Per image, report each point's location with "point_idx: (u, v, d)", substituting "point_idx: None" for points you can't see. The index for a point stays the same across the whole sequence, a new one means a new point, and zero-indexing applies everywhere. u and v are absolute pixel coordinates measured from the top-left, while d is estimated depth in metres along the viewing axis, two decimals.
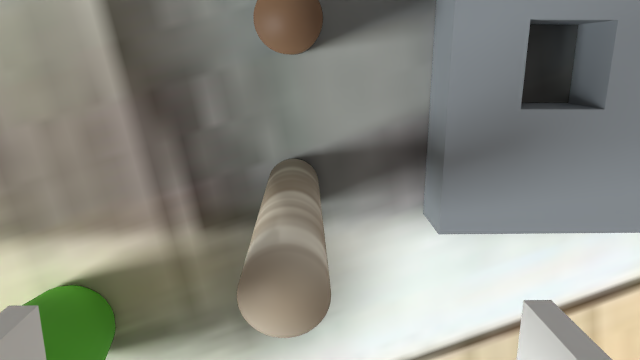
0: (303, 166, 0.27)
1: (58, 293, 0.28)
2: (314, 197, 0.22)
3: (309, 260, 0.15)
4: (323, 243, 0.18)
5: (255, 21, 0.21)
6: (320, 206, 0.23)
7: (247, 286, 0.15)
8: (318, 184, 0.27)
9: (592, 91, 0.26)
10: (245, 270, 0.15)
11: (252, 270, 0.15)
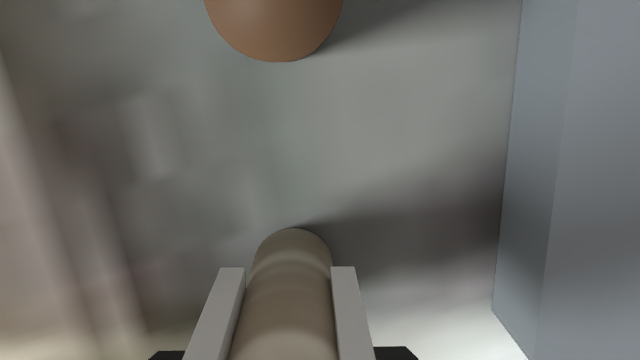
0: (309, 246, 0.16)
1: None
2: (331, 334, 0.12)
3: None
4: None
5: None
6: None
7: None
8: None
9: None
10: None
11: None
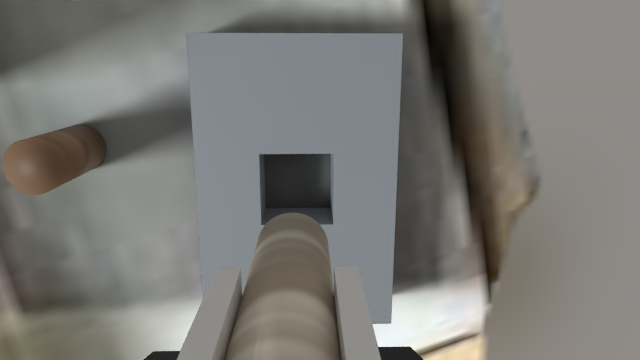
0: (307, 227, 0.18)
1: None
2: (325, 296, 0.14)
3: None
4: None
5: (4, 170, 0.25)
6: (334, 309, 0.14)
7: None
8: None
9: (332, 205, 0.30)
10: None
11: None
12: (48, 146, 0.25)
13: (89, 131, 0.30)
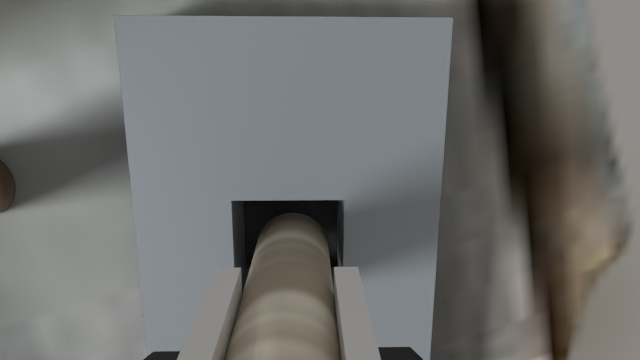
0: (307, 228, 0.18)
1: None
2: (325, 297, 0.14)
3: None
4: None
5: None
6: (334, 309, 0.14)
7: None
8: None
9: None
10: None
11: None
12: None
13: None
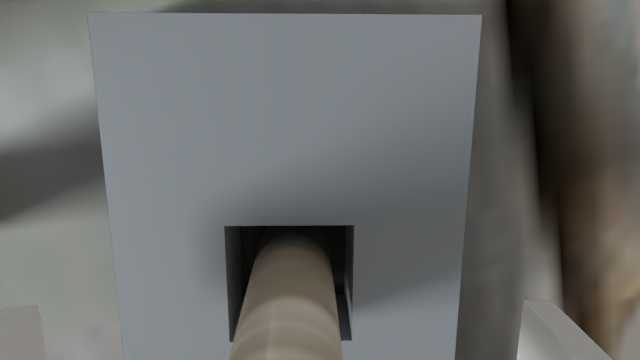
0: (309, 232, 0.18)
1: None
2: (327, 303, 0.14)
3: None
4: None
5: None
6: (337, 316, 0.14)
7: None
8: (330, 258, 0.18)
9: (349, 302, 0.18)
10: None
11: None
12: None
13: None
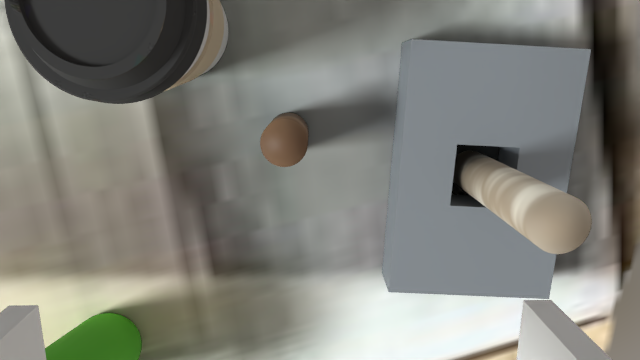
0: (485, 155, 0.35)
1: (102, 319, 0.37)
2: None
3: (581, 201, 0.23)
4: None
5: (261, 144, 0.30)
6: None
7: (538, 216, 0.23)
8: None
9: None
10: (539, 205, 0.23)
11: (544, 205, 0.23)
12: (300, 126, 0.30)
13: (301, 118, 0.35)
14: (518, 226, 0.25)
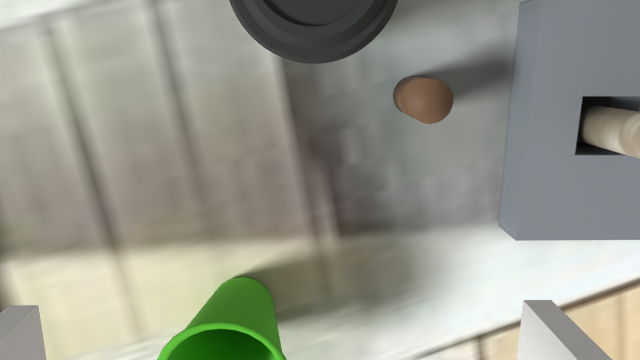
0: None
1: (241, 282, 0.39)
2: None
3: None
4: None
5: (409, 103, 0.32)
6: None
7: None
8: None
9: None
10: None
11: None
12: (446, 84, 0.32)
13: None
14: None
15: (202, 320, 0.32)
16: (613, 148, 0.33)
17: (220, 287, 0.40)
